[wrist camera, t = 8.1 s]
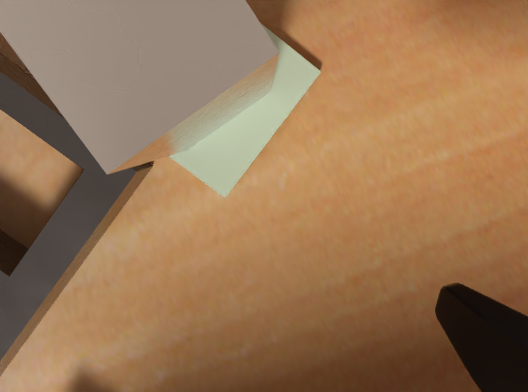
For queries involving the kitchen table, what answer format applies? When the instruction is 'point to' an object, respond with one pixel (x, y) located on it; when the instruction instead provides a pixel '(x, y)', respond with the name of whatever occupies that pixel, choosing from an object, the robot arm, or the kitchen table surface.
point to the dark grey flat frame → (62, 221)
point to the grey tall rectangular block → (142, 69)
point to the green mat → (250, 124)
